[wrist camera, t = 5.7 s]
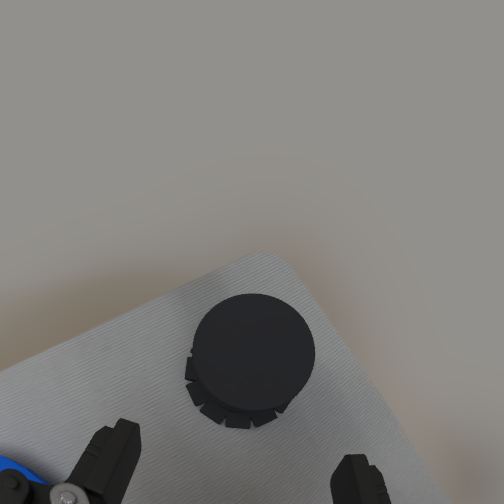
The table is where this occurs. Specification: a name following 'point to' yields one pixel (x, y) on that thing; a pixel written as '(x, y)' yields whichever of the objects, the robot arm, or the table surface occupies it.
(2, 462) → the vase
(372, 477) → the robot arm
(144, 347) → the table surface
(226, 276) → the table surface
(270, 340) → the black hat
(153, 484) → the table surface
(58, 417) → the table surface
